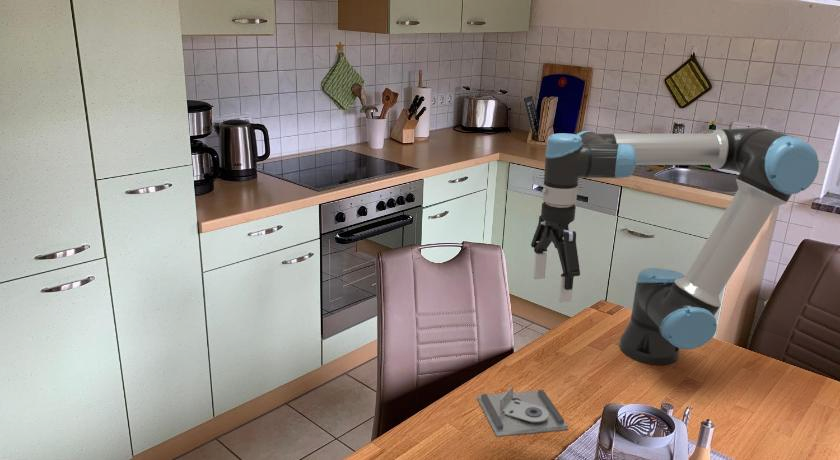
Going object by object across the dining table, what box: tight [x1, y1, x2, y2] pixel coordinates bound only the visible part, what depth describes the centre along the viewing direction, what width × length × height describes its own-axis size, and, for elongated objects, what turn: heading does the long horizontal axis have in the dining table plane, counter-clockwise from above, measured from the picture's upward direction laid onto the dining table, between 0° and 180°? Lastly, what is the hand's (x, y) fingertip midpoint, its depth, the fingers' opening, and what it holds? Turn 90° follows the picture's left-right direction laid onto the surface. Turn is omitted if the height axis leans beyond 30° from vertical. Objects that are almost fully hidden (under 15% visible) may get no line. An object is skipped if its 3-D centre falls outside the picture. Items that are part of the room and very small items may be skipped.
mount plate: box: [477, 389, 569, 437], centre depth 144 cm, size 16×14×2 cm
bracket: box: [500, 386, 549, 422], centre depth 143 cm, size 7×10×3 cm, turn 59°
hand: (551, 289), depth 153 cm, fingers open, 13 cm apart
